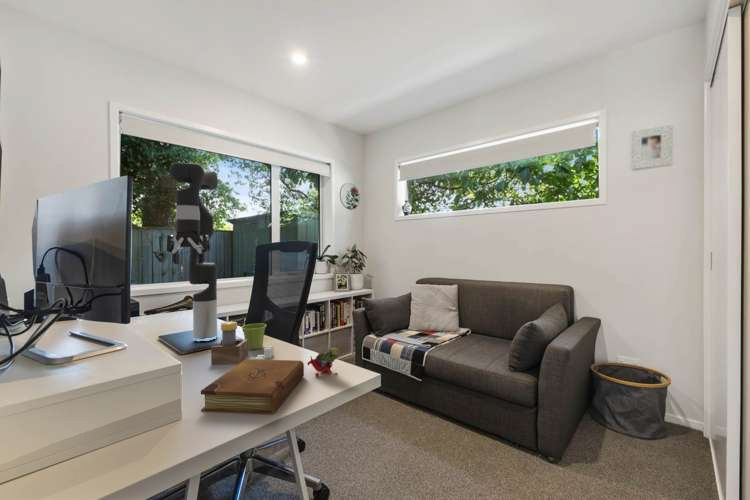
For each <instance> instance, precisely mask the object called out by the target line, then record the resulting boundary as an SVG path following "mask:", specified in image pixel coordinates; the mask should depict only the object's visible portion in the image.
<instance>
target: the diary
mask: <svg viewBox="0 0 750 500" xmlns="http://www.w3.org/2000/svg"><path fill="white" fill-rule="evenodd" d="M304 376H305V364H304V362H303V361H302V360H294V359H293V360H291V359H289V360H287V359H280V360H279V359H265V360H259V359H255V358H252V359H251V358H245V359H244V360H243V361H242V362H241V363H239V364H236V365H235V366H234V367H232V368H231V369H229V370H228V371H226V372H225V373H224V374H222V375H221V376H220V377H217V379H215V380H213V382H211V383H209V384H208V385H206V386H205V387H204V388H202V389H201V390H200V395H204V407H202V408H201V409H200V412H206V413H207V412H208V413H209V412H210V413H230V414H251V415H253V414H254V415H272V416H273V415H274V414H275V413H276V412H277V410H278V409H279V408H280V407H281V405H282V404H283V403H284V402H285V400H286V399H287V398H288V397H289V395H290V394H291V393H292V391H293V390H294V389H295V388H296V387H297V385H298V384H299V383H300V381H301V380H302V379H303V377H304Z"/></svg>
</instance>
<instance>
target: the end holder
mask: <svg viewBox="0 0 750 500" xmlns="http://www.w3.org/2000/svg"><path fill="white" fill-rule="evenodd" d="M248 356H249V350H248V339H245V338H244V339H236V346H222V339H221V340H220V345H211V347H210V360H211V362H210V363H211V364H210V365H238V364H239V363H241V362H242V361H244V360H245V359H247V357H248Z"/></svg>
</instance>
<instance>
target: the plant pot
mask: <svg viewBox="0 0 750 500" xmlns="http://www.w3.org/2000/svg"><path fill="white" fill-rule="evenodd" d="M266 327H267V323H249V324H245V325H242V326H241V327H240V328H241V329H242V332H243V336H244V339H248V351H252V350H253V351H254V350H259V349H262V348H263V345H264V337H265V331H266Z"/></svg>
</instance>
